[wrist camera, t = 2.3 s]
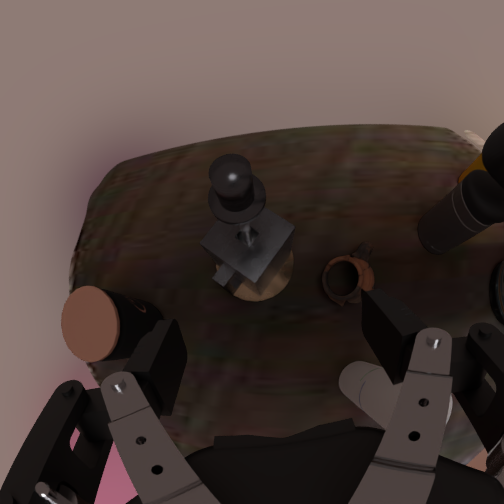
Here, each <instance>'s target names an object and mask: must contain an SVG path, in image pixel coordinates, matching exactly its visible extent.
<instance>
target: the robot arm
mask: <svg viewBox="0 0 504 504" xmlns="http://www.w3.org/2000/svg"><path fill="white" fill-rule="evenodd" d="M482 162H483V165H484V167H485V169H486V170H487V171H484V170H480V169H477V170H473V171H472V172H470V173H469V174H468V175H467V176H466V177H465V178H464V179H463V180H462V181H461V182H460V183H459V184H458V185H457V186H456V187H455V188H454V189H453V190H452V191H451V192H450V193H448V194H447V195H446V196H445V197H444V198H443V199H442V200H441V201H440V202H439V203H438V204H437V205H435V206H434V207H433V208H432V209H431V210H430V211H429V212H428V213H426V214H425V215H424V216H423V217H422V218H421V219H420V222H419V225H418V234H419V238H420V240H421V242H422V244H423V245H424V247H425V248H426V249H427V250H428V251H430V252H431V253H433V254H438V255H439V254H443V253H445V252H447V251H449V250H450V249H452V248H454V247H456V246H458V245H459V244H461V243H463V242H465V241H466V240H468V239H470V238H471V237H473V236H475V235H476V234H478V233H480V232H481V231H483V230H485V229H486V228H488V227H489V226H491V225H492V224H494V223H501V222H504V123H502V124H501V125H500V126H498V128H497V129H495V130H494V131H493V132H492V133H491V135H490V136H489V137H488V139H487V140H486V142H485V144H484V147H483V150H482ZM362 331H363V334H364V337H365V338H366V340H367V342H368V343H369V345H370V347H371V348H372V350H373V352H374V353H375V355H376V357H377V358H378V360H379V362H380V363H381V365H382V367H383V368H384V370H385V372H386V374H387V375H388V377H389V379H390V380H391V382H392V384H393V385H396V384H399V383H402V382H403V385H402V388H401V391H400V394H399V397H398V400H397V403H396V405H395V408H394V411H393V414H392V416H391V419H390V421H389V424H388V426H387V429H386V431H385V430H382V429H378V428H372V427H360V426H359V427H355V425H354V423H353V420H352V418H350V419H346V420H341V421H337V422H333V423H328V424H323V425H319V426H316V427H314V428H311V429H308V430H306V431H303V432H301V433H298V434H295V435H292V436H289V437H286V438H274V437H263V436H253V435H238V436H215V437H214V446H210V447H207V448H203V449H201V450H198V451H196V452H194V453H192V454H190V455H188V456H187V457H185V458H184V457H183V456H182V455H181V453H180V452H179V450H178V449H177V447H176V446H175V444H174V443H173V442H172V440H171V439H170V437H169V435H168V434H167V432H166V431H165V429H164V428H163V426H162V425H161V423H160V421H159V418H160V415H166V416H171V414H172V411H173V407H174V404H175V400H176V397H177V393H178V390H179V386H180V383H181V379H182V376H183V373H184V369H185V366H186V363H187V350H186V346H185V343H184V340H183V337H182V334H181V331H180V328H179V325H178V322H177V321H176V319H168V320H159V321H158V322H157V323H156V325H155V327H154V329H153V330H152V332H148V333H147V334H146V335H145V336H143V337H142V338H141V339H140V341H139V343H138V345H137V347H136V348H135V350H134V352H133V353H132V355H131V357H130V359H129V360H128V362H127V364H126V366H125V368H124V369H123V371H122V372H117V373H114V374H112V375H110V376H108V377H107V378H106V379H105V380H104V381H103V382H102V384H101V388H95V389H89V390H85V388H84V387H83V385H82V383H80V382H79V381H77V380H70V381H67V382H65V383H62V384H61V385H60V386H58V388H57V389H56V390H55V392H54V393H53V395H52V396H51V398H50V399H49V401H48V403H47V404H46V406H45V407H44V409H43V411H42V412H41V414H40V416H39V417H38V419H37V421H36V422H35V424H34V426H33V428H32V429H31V431H30V433H29V435H28V436H27V438H26V440H25V442H24V443H23V445H22V447H21V449H20V451H19V453H18V455H17V457H16V458H15V461H14V463H13V465H12V466H11V468H10V470H9V473H8V475H7V477H6V479H5V481H4V483H3V485H2V488H1V490H0V504H94V502H95V498H96V495H97V491H98V488H99V484H100V481H101V478H102V474H103V471H104V468H105V465H106V462H107V459H108V455H109V453H110V449H111V446H112V444H113V441H114V442H115V445H116V447H117V450H118V452H119V455H120V457H121V459H122V462H123V464H124V466H125V468H126V471H127V473H128V475H129V477H130V479H131V481H132V483H133V485H134V487H135V489H136V491H137V493H138V495H137V496H135V497H134V498H133V499H131V500H130V501H129V502H127V503H126V504H504V335H503V334H502V333H501V332H500V331H499V330H498V329H497V328H496V327H495V326H493V325H491V324H488V323H476V324H474V325H472V326H471V327H470V330H469V333H468V336H467V337H459V338H451V336H450V334H449V333H447V332H446V331H444V330H442V329H439V328H428V327H427V326H426V325H425V324H424V323H423V322H422V321H421V320H420V319H419V318H418V317H417V316H416V315H415V314H413V312H412V311H411V310H410V309H408V307H407V306H406V305H405V304H404V303H403V302H402V301H400V300H398V299H396V298H394V297H390V298H389V297H388V296H387V294H386V293H385V292H384V291H383V290H382V289H375V290H370V291H365V292H364V293H363V296H362ZM486 373H488V374H489V375H490V376H491V378H492V379H493V380H494V382H495V384H496V393H495V392H494V390H493V389H492V388H491V386H490V385H489V384H488V382H487V381H486V380H485V376H486ZM451 393H453V394H454V395H455V397H456V399H457V400H458V402H459V403H460V405H461V407H462V408H463V410H464V412H465V413H466V415H467V417H468V418H469V420H470V422H471V423H472V425H473V427H474V429H475V430H476V432H477V434H478V436H479V438H480V440H481V441H482V443H483V445H484V447H485V449H486V451H487V453H488V456H487V460H486V467H487V469H486V471H485V472H483V471H480V470H477V469H474V468H471V467H468V466H466V465H463V464H461V463H458V462H455V461H453V460H450V459H448V458H445V457H443V456H440V455H439V452H440V448H441V444H442V439H443V435H444V430H445V426H446V420H447V415H448V409H449V403H450V396H451ZM75 428H77V429H78V431H79V432H80V435H79V437H78V440H77V442H76V444H75V446H74V449H73V451H72V450H71V448H70V438H71V436H72V434H73V432H74V430H75Z"/></svg>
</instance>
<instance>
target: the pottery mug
mask: <svg viewBox="0 0 504 504" xmlns="http://www.w3.org/2000/svg"><path fill="white" fill-rule="evenodd" d="M372 250H373V246H372V244H371V243H369V242H362V243H361V245H360V246H359V247H358V249H357V251H356V252H354V253H352V256H353V258H352V257H350V255H345V256H340V257H336V258H334V259H332V260H331V261H330V262H329V263H328V265H327V266H326V268H325V270H324V272H323V274H322V283H323V288H324V291H325V293H326V294H327V295H328V296H329V298H330V299H331V300H333V301H335V302H336V303H338V304H339V305H341V306H343V305H344V303H345V301H348V302H350V303H359V302H361V301H362V299H361V289H363V290H364V291H370V290H373V289H374V286H375V279H374V274H373V270H372V268H371V266H370V265H369V263H368V259H369V256H370V254H371V252H372ZM341 261H347V262H350V263H352V264H353V265H354V266H355V267H356V269H357V271H358V275H359V279H358V284H357V287H356V288H355V290H354V291H353V292H351V293H350V294H348V295H345V296H340V295H337V294H335V293H333V292H332V291H331V289H330V287H329V285H328V272H329V270H330V268H331V267H332V266H333V265H335V264H336V263H338V262H341Z"/></svg>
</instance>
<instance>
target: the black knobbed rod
mask: <svg viewBox="0 0 504 504" xmlns="http://www.w3.org/2000/svg"><path fill="white" fill-rule="evenodd" d="M209 178H210V181H211V183H212V186H211V188H210V191H209V194H208V203H209V206H210V209H211V211H212V213H213V214H214V216H215V217H216V218H217V219H219V220H220V221H222V222H223V223H226V224H229V225H239V226H240V229H241V231H240V233H239V234H238V235H237V237H236V239H238V240H239V241H241V242H242V243H244V244H245V245H247V246H248V247H250V246H251V244H252V243H253V242H254V240H255V239H256V238H257V236H258V235H259V233H258V232H256V231H255V230H253V229H252V228H250V224H249V222H251V221H253V220H254V219H255V218H257V217H258V216H259V215H260V213H261V212H262V211H263V209H264V206H265V202H266V193H265V188H264V186H263V184H262V182H261V181H260V180H259V179H258V178H257V177H256V176H254V175H253V174H252V171H251V166H250V163H249V161H248V160H247V159H246V158H245V157H243V156H241V155H238V154H226V155H223V156H221V157H219V158H217V159H216V160H215V161H214V162H213V163H212V165H211V166H210V169H209Z"/></svg>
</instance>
